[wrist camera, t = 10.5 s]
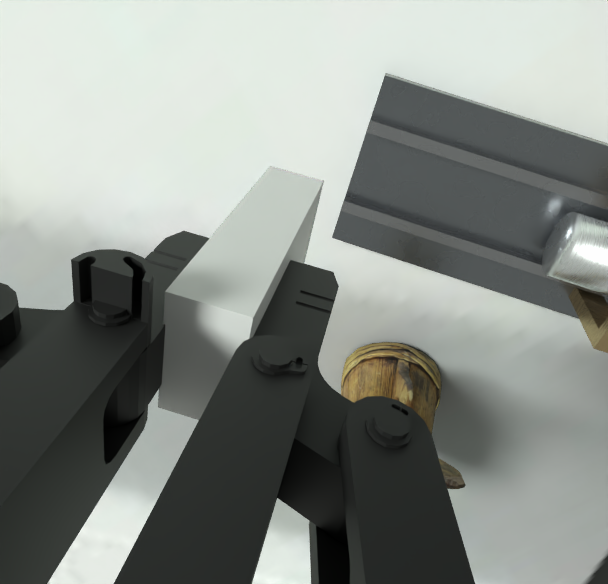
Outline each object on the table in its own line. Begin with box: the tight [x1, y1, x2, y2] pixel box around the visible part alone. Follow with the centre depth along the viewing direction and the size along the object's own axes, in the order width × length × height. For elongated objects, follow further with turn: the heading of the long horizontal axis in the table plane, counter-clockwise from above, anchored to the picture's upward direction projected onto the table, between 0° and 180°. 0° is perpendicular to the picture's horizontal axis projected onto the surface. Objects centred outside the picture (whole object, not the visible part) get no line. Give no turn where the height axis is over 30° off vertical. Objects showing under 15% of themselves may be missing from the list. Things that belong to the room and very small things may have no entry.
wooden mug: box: [341, 342, 465, 489], centre depth 37 cm, size 9×14×18 cm, turn 166°
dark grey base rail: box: [332, 73, 608, 318], centre depth 35 cm, size 12×30×2 cm, turn 75°
